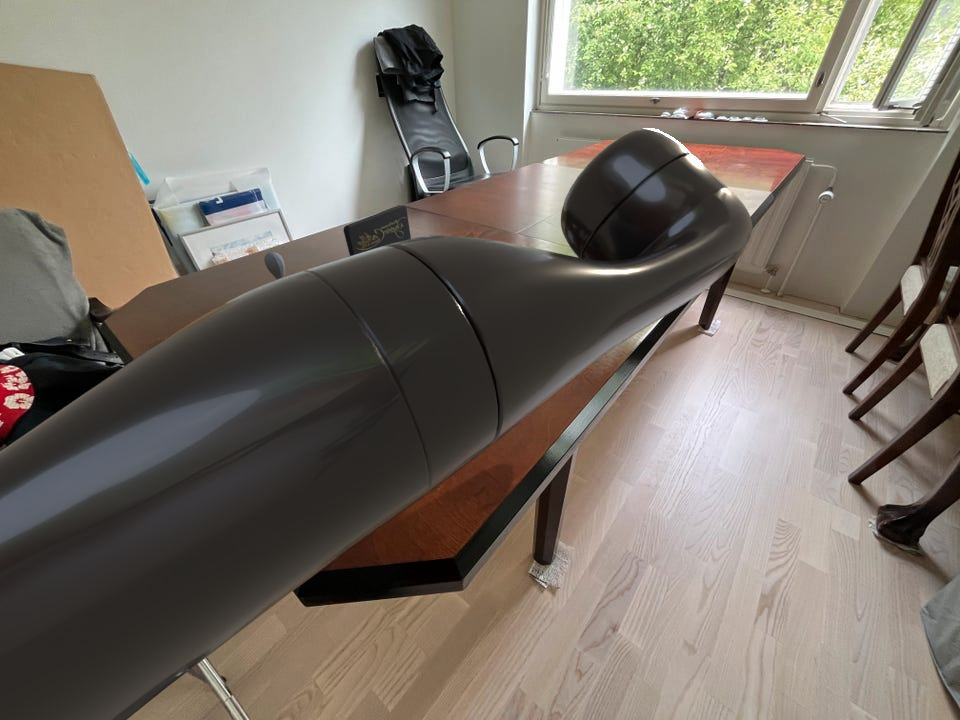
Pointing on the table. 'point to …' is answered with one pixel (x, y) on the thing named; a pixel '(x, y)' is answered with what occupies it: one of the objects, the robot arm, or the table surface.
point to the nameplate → (378, 230)
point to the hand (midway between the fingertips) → (408, 320)
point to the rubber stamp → (275, 264)
